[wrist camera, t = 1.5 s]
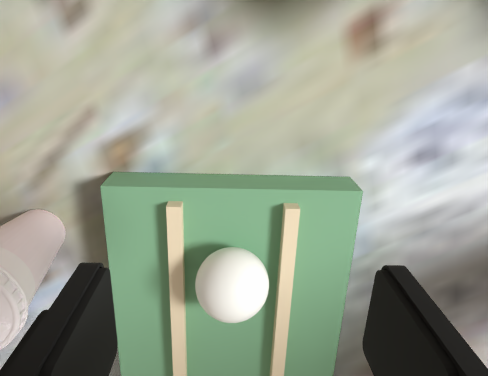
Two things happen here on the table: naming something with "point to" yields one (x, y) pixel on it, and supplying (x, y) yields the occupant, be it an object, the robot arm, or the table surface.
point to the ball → (232, 285)
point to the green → (222, 236)
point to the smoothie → (25, 265)
